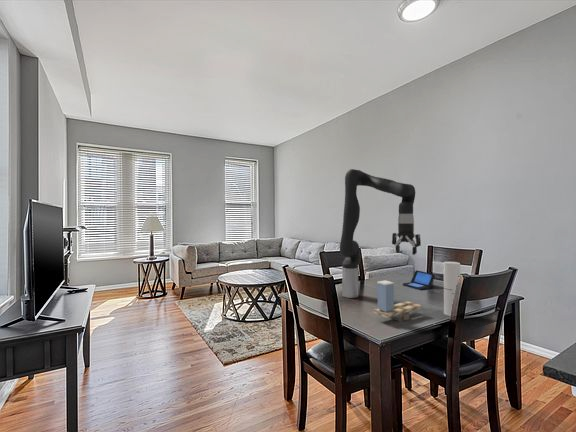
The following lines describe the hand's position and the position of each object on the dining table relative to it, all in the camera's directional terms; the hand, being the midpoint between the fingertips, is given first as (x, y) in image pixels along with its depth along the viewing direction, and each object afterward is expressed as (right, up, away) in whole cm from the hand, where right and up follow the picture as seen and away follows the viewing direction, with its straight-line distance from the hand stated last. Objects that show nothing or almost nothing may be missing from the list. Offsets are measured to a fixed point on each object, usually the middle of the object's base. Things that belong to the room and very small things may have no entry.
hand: (406, 253), depth 157 cm
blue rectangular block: (-16, -25, -18) cm, 35 cm away
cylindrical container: (+19, -28, -10) cm, 35 cm away
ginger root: (-9, -29, -13) cm, 33 cm away
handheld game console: (+25, -28, +44) cm, 58 cm away
